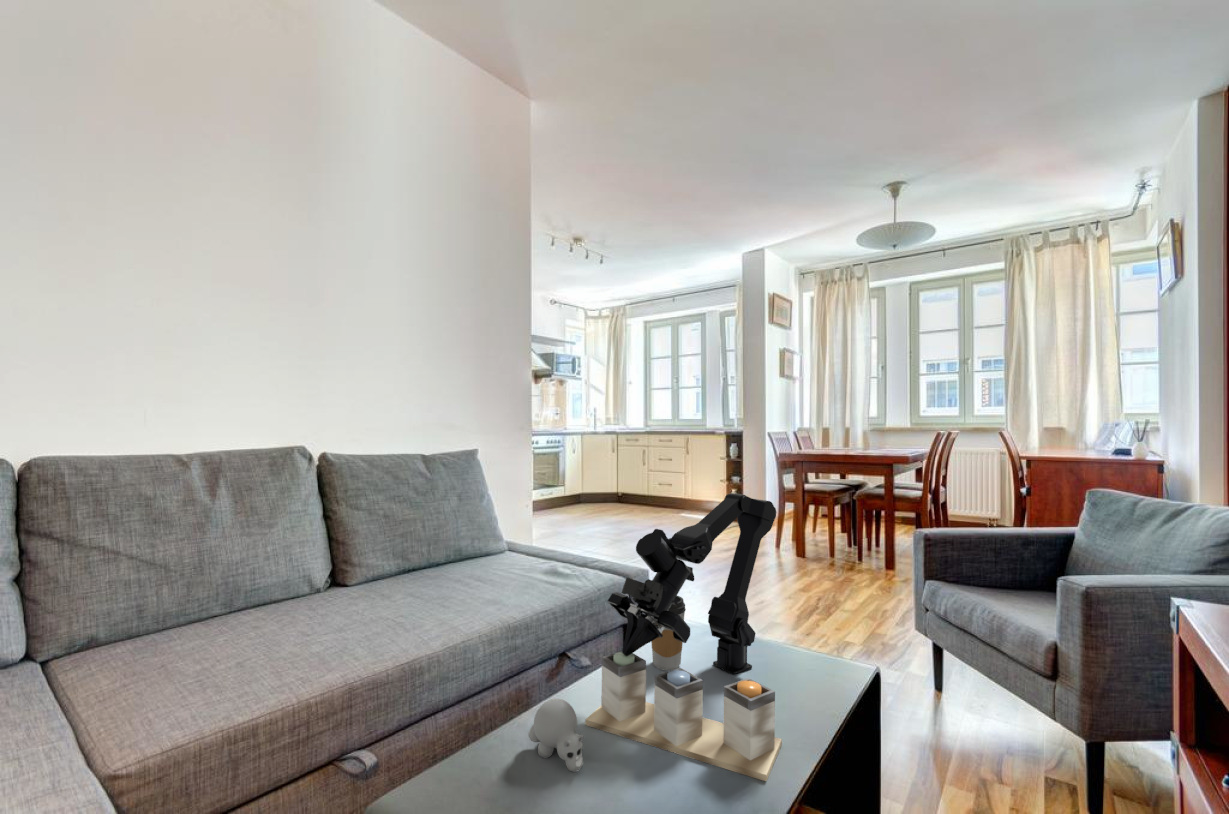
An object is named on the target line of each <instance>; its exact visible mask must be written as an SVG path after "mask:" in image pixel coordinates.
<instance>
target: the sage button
mask: <svg viewBox="0 0 1229 814" xmlns="http://www.w3.org/2000/svg"><path fill="white" fill-rule="evenodd" d="M613 654H614V659H613V662H615V663H616V664H618V665H619V666H625V665H628V664H631V663H634V659H635V656H634V654H635V653H633V654H630V655H629V656H625V655H624V654H623V653H622V651H619V652H615V653H613Z"/></svg>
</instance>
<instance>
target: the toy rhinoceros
mask: <svg viewBox="0 0 1229 814" xmlns="http://www.w3.org/2000/svg"><path fill="white" fill-rule="evenodd" d="M577 719H578V718H577V714H576V711H575V709H574V707H573V706H572V705H571V704H570V703H569V702H568V701H566V700H564V699H562V698H552V699H548V700H545V702H543V703H542V704H541V705H539V708H538V709H537V710H536V713H535V715H534V719H533V724H532V725H531V727H530V729H529V732H528V738H529V740H530V741H531V742H533V743H538V747H537V753H538V756H539V757H541V758H545V759H548V758H550V757H551V756H552V755H553V753H554V749H556V752H557V755H558V756H559V758H560V759H561V760H562V761H564V762H565V765H566V767H567V769H568V770H569V771H571V772H578V771H580V770H581V768H582V767H583V765H584V757H583V739H584V737H585V735H584V734H578V733H577V732H576V730H577V725H578V724H577V723H578V720H577Z"/></svg>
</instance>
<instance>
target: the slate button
mask: <svg viewBox="0 0 1229 814" xmlns="http://www.w3.org/2000/svg"><path fill="white" fill-rule="evenodd" d="M669 671H670V672H668V671H667V672H668V674H667V681H668V682H670V683H672V684H673V685H675V686H677V687H678V686H681V685H684V684H687V683H690V674H689V673H690V672H689V673H687V672H688V671H687V672H685V671H686V670H685V671H681V670H673V671H671V670H669Z"/></svg>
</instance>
